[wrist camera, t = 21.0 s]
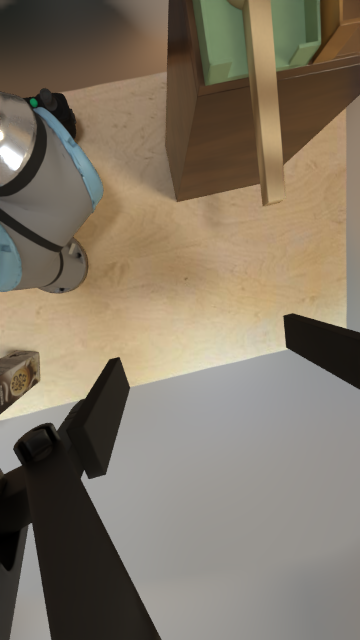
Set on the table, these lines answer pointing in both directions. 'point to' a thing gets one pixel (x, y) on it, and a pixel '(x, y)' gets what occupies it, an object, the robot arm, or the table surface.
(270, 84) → the spoon
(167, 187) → the table surface
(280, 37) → the tray
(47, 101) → the controller
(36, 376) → the coffee box
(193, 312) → the table surface
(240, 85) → the stand
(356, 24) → the brown wooden open box
